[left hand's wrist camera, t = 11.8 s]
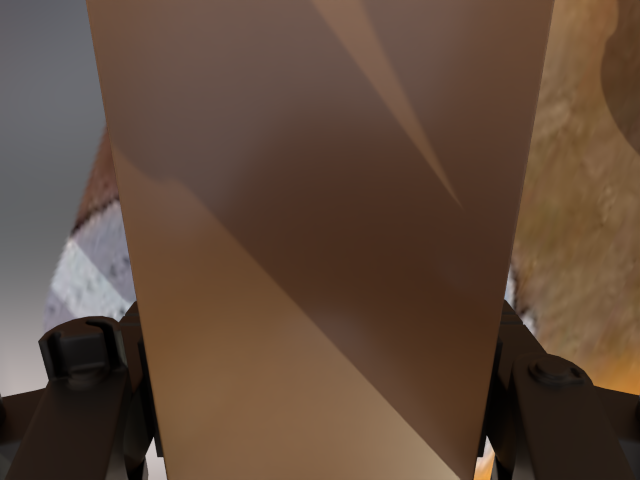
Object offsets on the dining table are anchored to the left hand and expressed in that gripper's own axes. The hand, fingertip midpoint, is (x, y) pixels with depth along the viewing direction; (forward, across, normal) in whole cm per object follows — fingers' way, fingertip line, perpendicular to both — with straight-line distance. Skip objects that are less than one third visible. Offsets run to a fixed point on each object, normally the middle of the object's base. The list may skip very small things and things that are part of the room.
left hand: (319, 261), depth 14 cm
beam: (+1, 0, -18) cm, 18 cm away
